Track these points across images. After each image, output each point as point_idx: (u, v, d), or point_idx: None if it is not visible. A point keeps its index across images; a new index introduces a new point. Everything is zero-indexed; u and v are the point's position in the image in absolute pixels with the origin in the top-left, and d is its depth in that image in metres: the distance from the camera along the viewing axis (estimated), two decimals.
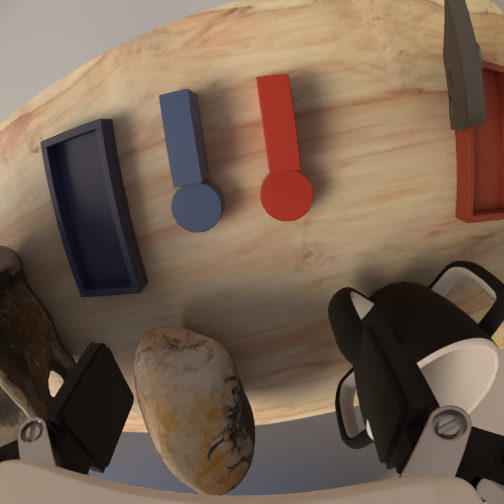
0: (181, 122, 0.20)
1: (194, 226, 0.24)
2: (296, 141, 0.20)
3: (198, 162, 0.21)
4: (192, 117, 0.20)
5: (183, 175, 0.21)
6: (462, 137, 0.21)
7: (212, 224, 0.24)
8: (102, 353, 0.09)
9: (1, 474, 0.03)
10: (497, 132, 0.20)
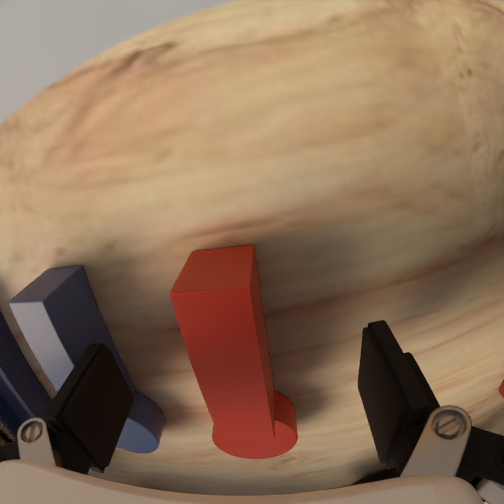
0: (54, 355, 0.09)
1: (126, 447, 0.13)
2: (267, 408, 0.10)
3: None
4: (69, 349, 0.09)
5: None
6: None
7: (149, 450, 0.13)
8: (102, 353, 0.09)
9: (1, 474, 0.03)
10: None
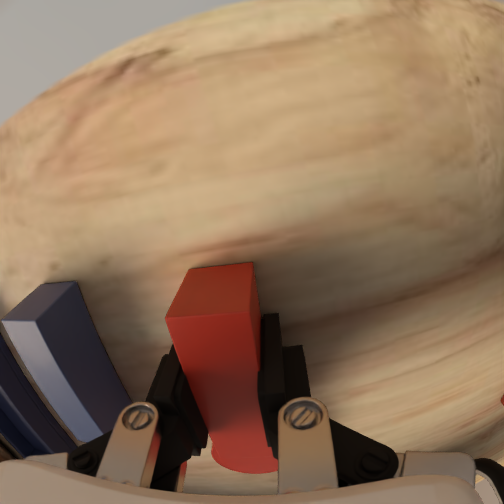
0: (49, 374, 0.09)
1: None
2: None
3: (99, 428, 0.10)
4: (64, 368, 0.09)
5: (85, 435, 0.10)
6: None
7: None
8: None
9: (1, 474, 0.03)
10: None
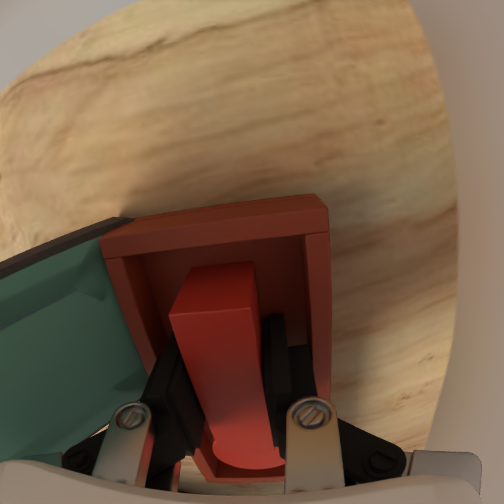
0: None
1: None
2: (268, 424, 0.09)
3: None
4: None
5: None
6: None
7: None
8: None
9: (1, 474, 0.03)
10: None
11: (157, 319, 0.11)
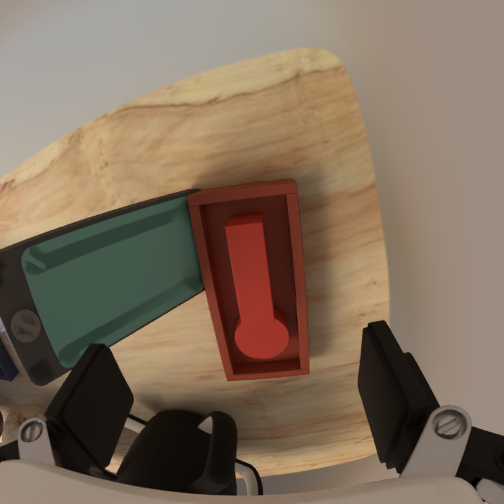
0: None
1: None
2: (270, 297, 0.19)
3: None
4: None
5: (0, 326, 0.23)
6: None
7: None
8: (102, 353, 0.09)
9: (1, 474, 0.03)
10: (284, 276, 0.22)
11: (209, 244, 0.21)
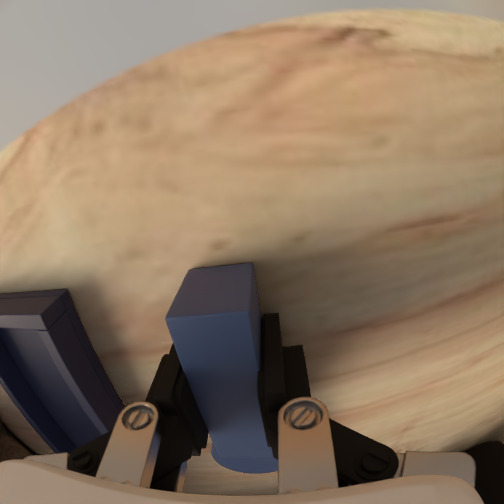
0: (233, 382, 0.08)
1: (250, 469, 0.12)
2: None
3: None
4: None
5: (239, 449, 0.10)
6: None
7: None
8: None
9: (1, 474, 0.03)
10: None
11: None
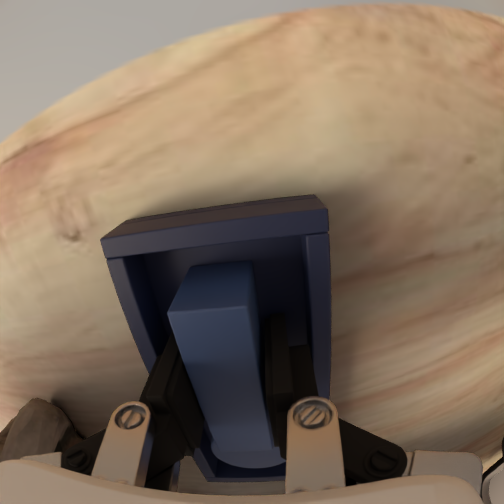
0: (232, 375, 0.09)
1: (248, 464, 0.13)
2: None
3: (268, 430, 0.10)
4: (258, 364, 0.09)
5: (238, 442, 0.10)
6: None
7: (277, 463, 0.13)
8: None
9: (1, 474, 0.03)
10: None
11: None
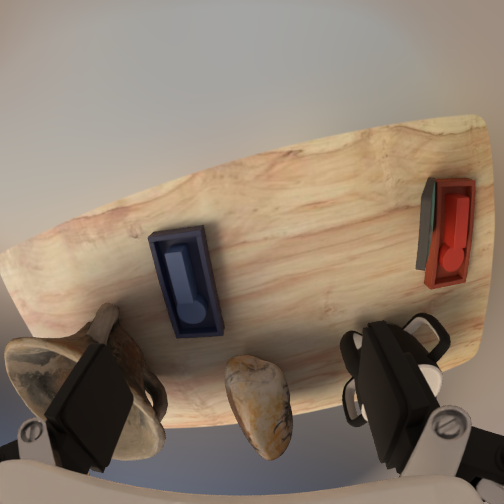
0: (179, 270, 0.36)
1: (190, 321, 0.40)
2: (466, 233, 0.33)
3: (190, 292, 0.37)
4: (185, 267, 0.36)
5: (183, 298, 0.38)
6: (432, 236, 0.36)
7: (200, 320, 0.40)
8: (102, 353, 0.09)
9: (1, 474, 0.03)
10: None
11: None
